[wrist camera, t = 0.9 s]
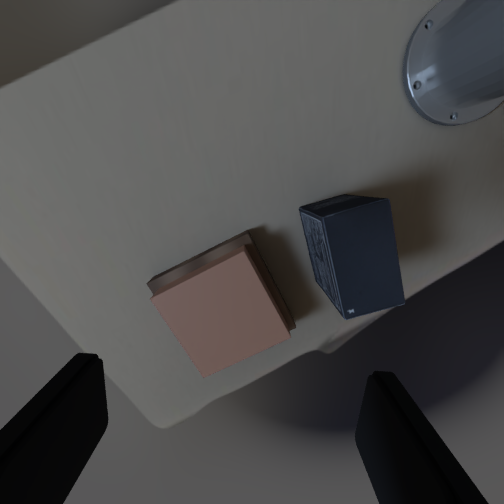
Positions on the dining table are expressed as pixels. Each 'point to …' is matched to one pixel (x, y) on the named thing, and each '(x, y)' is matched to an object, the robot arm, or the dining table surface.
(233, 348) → the terracotta slab
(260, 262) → the walnut slab
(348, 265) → the small box
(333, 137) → the dining table surface
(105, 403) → the robot arm
